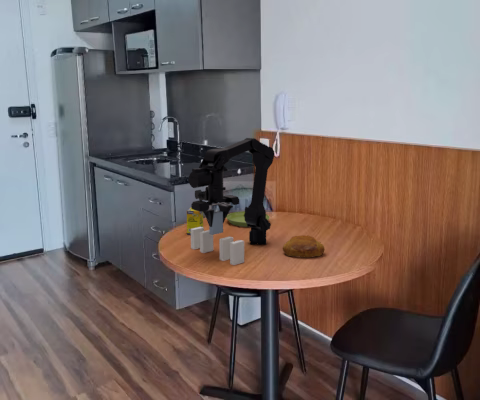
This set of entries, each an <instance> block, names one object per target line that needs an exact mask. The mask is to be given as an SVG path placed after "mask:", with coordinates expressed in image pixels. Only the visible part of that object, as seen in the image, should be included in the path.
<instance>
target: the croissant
mask: <svg viewBox="0 0 480 400" xmlns="http://www.w3.org/2000/svg"><path fill="white" fill-rule="evenodd" d="M282 251H283V252H284V254H285V255H286V256H288V257H294V256H300V257H299V258H313V257H312V256H318V257H320V256H323V254H322V253H324V252H325V245H324V244H323V243H321V242H320V241H318V240H317V239H316V238H315V237H314V236H311V235H295V236H292V237H291V238H290V239H288V241H286V243H284V244H283V247H282Z"/></svg>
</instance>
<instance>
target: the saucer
mask: <svg viewBox="0 0 480 400" xmlns="http://www.w3.org/2000/svg"><path fill="white" fill-rule="evenodd" d="M244 214H245V210H243V211H242V210H241V211H234V212H229V213H228V215H227V217H226V220H227V221H228V222H229V223H230V224H231V225H233V226H237V227H241V228H242V227H244V228H248V227H247V223H246V221H245V217H244ZM266 219H267V220H268V221H269V219H270V215H269V214H267V213H266Z"/></svg>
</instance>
